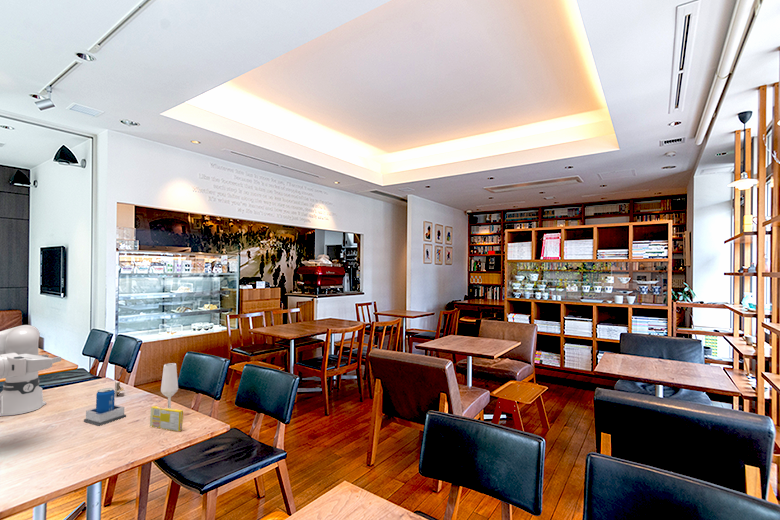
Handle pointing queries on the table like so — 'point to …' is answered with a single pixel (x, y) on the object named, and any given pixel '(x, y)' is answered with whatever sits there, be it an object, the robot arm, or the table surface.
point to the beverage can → (105, 400)
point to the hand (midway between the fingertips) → (53, 357)
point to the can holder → (104, 416)
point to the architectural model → (117, 387)
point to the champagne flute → (169, 381)
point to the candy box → (166, 418)
